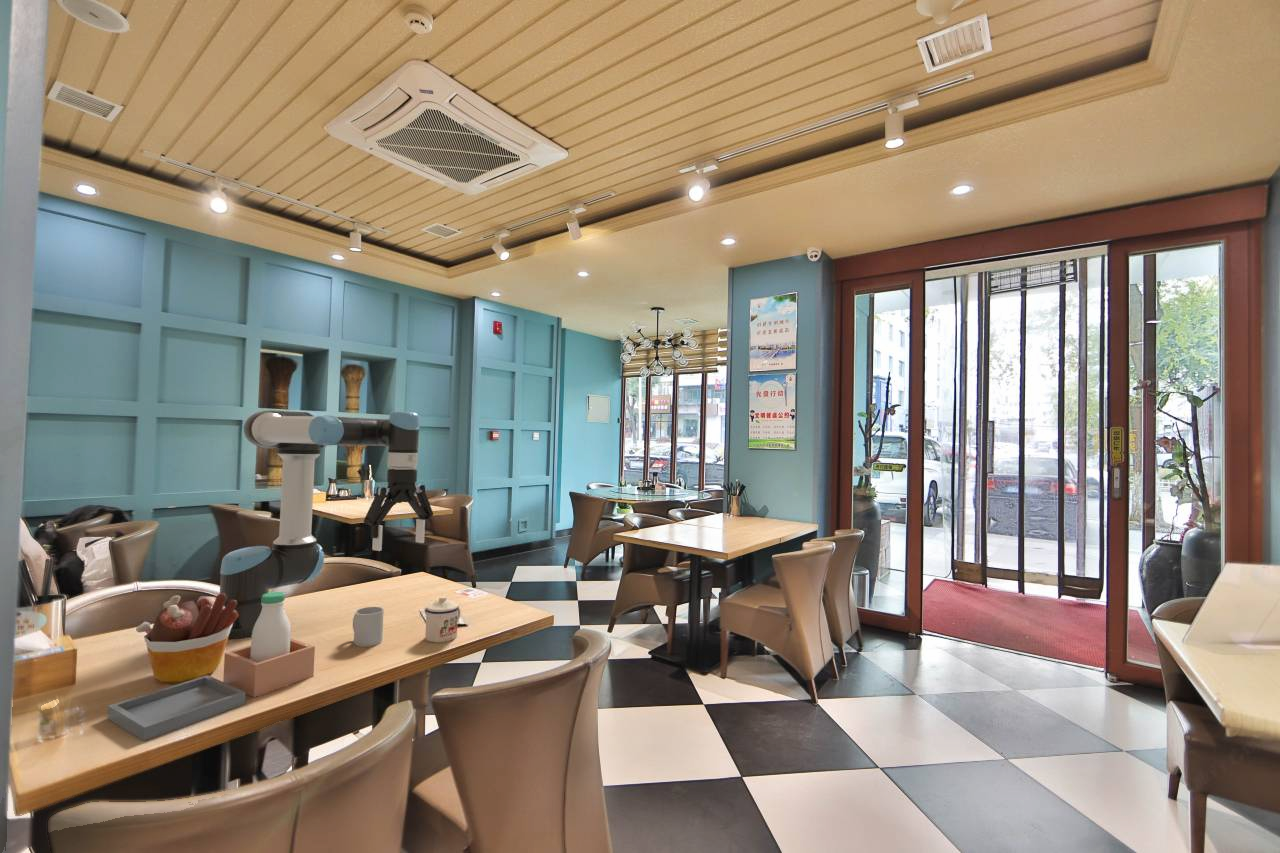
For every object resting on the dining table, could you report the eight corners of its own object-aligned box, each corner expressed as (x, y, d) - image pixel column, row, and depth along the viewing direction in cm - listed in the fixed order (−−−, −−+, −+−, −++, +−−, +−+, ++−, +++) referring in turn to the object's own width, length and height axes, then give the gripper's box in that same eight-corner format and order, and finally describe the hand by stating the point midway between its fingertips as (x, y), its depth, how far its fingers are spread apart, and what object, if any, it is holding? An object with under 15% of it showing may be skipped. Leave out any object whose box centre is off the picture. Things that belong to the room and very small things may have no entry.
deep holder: (223, 683, 126) (224, 652, 126) (282, 664, 137) (283, 636, 137) (254, 697, 119) (255, 665, 120) (313, 676, 131) (314, 646, 131)
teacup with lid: (442, 645, 153) (443, 603, 153) (417, 640, 156) (418, 598, 156) (470, 632, 164) (472, 593, 164) (447, 627, 167) (448, 589, 167)
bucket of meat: (119, 682, 125) (124, 594, 125) (195, 655, 141) (199, 578, 141) (182, 696, 119) (187, 604, 120) (254, 666, 135) (258, 585, 136)
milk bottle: (289, 682, 127) (293, 595, 128) (248, 690, 123) (253, 600, 123) (288, 670, 134) (292, 588, 134) (249, 677, 129) (253, 592, 130)
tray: (107, 718, 109) (108, 705, 109) (207, 686, 124) (207, 675, 124) (143, 741, 102) (144, 727, 102) (245, 703, 117) (245, 692, 117)
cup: (364, 649, 148) (366, 616, 148) (341, 642, 153) (342, 610, 153) (388, 641, 155) (389, 609, 155) (364, 634, 159) (366, 603, 159)
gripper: (370, 470, 137) (366, 555, 136) (447, 467, 159) (444, 541, 158) (351, 468, 140) (347, 551, 140) (429, 466, 162) (426, 538, 162)
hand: (399, 546), depth 149 cm, fingers open, 13 cm apart
